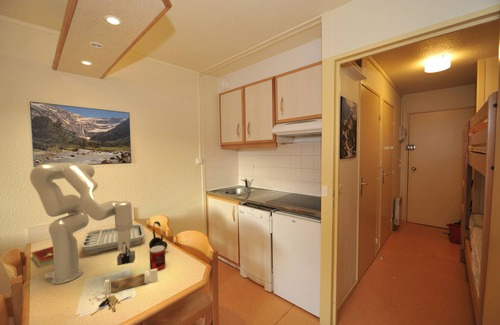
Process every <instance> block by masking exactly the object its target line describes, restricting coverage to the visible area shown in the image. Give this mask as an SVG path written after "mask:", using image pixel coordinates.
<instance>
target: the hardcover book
mask: <svg viewBox="0 0 500 325" xmlns="http://www.w3.org/2000/svg"><path fill="white" fill-rule="evenodd" d="M30 254H31V255H32V259H33V260H34V262H35V263H36V264H37V266H38V267H39V268H44V267H48V266H50V265H54V255H53V246H50V247H46V248H42V249H39V250H35V251H32V252H30Z"/></svg>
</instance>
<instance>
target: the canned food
mask: <svg viewBox="0 0 500 325" xmlns="http://www.w3.org/2000/svg"><path fill="white" fill-rule="evenodd" d="M149 268H150V270H152V269H157V272H159V271H162V270H164V269H165V268H166V250H165V247H164V246H155V247H152V248H151V249H150V248H149Z"/></svg>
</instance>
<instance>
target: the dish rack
mask: <svg viewBox="0 0 500 325" xmlns="http://www.w3.org/2000/svg"><path fill="white" fill-rule="evenodd" d="M130 232H131V244H130V247H133V246H137V245H138V244H139V243H141V242H142V241H143V237H144V236H145V229H144V226H143V224H142V223H134V224H133V228H132V229H130ZM78 245H79V248H83V252H84V253H87V254H89V255H95V254H98V253H100V252H101V251H106V250H107V251H108V250H110V249H115V248H117V249H118V232H117V231H116V229H115V227H108V228H100V229H93V230H90V231H87V232H85V233H84V235H83V237H82V239H81V241H80V243H79V244H78Z"/></svg>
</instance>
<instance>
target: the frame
mask: <svg viewBox="0 0 500 325" xmlns="http://www.w3.org/2000/svg"><path fill="white" fill-rule="evenodd" d="M144 273H145V285H149V284H152V283H157V282H158V279H159V278H158V271H157V269H152V270H151V269H150V270H149V269H147V270H145V271H144ZM110 282H111V279H110V278H108V279H105V281H104V290H105V291H104V292H105V296H107V295H110V294H111V283H110ZM109 293H110V294H109ZM106 294H107V295H106Z"/></svg>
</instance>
